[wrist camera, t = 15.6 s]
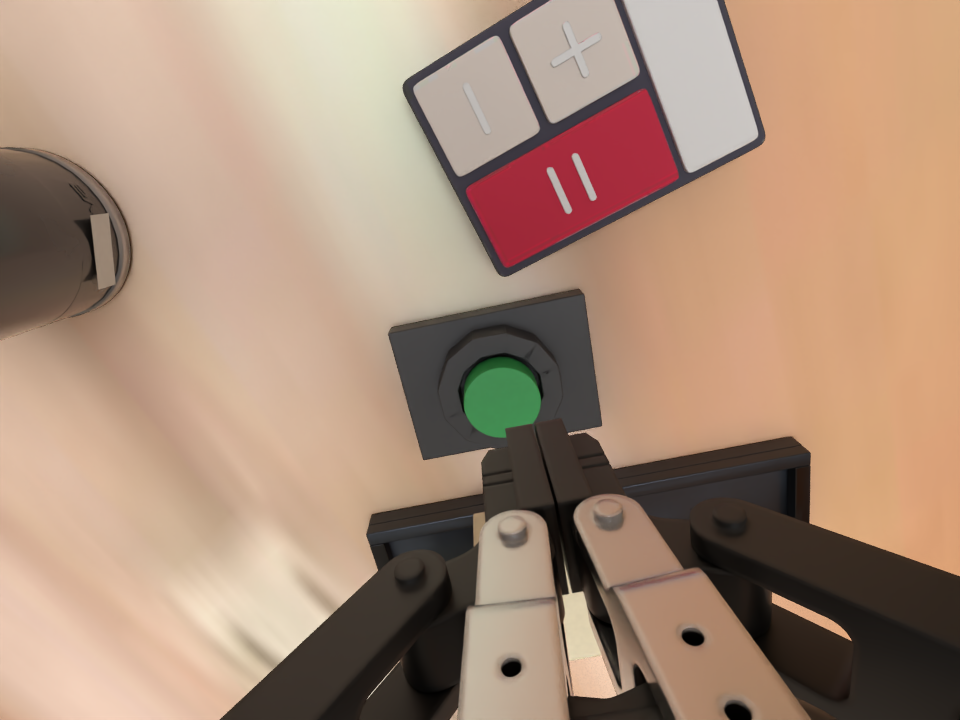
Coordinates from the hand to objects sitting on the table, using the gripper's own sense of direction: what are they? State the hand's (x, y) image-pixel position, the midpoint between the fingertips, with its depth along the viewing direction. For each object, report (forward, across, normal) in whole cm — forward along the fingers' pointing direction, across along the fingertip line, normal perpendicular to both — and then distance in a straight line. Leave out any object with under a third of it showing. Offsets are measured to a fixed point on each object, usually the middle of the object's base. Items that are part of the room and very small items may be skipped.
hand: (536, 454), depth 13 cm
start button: (+17, +1, +5) cm, 17 cm away
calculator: (+20, -6, -9) cm, 22 cm away
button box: (+19, +1, +5) cm, 20 cm away
